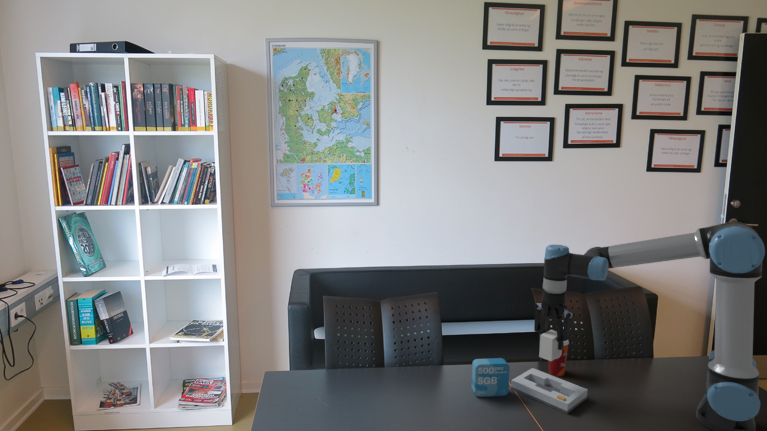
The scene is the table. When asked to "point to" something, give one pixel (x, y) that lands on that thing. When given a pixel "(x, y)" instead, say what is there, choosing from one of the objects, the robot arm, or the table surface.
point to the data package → (490, 377)
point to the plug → (548, 345)
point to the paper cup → (559, 362)
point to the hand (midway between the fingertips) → (550, 355)
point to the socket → (549, 390)
